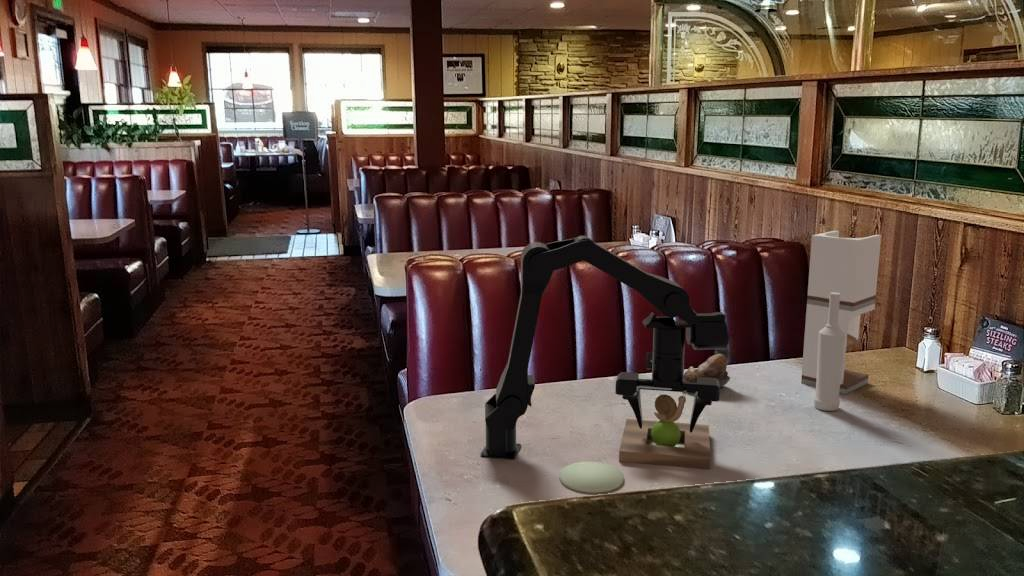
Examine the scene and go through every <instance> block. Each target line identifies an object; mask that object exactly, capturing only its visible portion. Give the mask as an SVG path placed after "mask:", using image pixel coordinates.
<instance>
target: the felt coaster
mask: <svg viewBox="0 0 1024 576" xmlns="http://www.w3.org/2000/svg"><path fill="white" fill-rule="evenodd" d="M624 480H625V479H624V474H623V472H622V471H621V469H619V468H618V467H616V466H613V465H611V464H608V463H604V462H599V461H580V462H579V461H578V462H575V463H571V464H568V465H566V466H564V467H562V469H561V470H560V471H559V481H560V483H561V484H562V485H563V486H564V487H566V488H568V489H570V490H573V491H576V492H580V493H586V494H587V493H588V494H601V493H602V494H604V493H607V492H612V491H614V490H617V489H618V488H621V486H622V485H623V484H624Z"/></svg>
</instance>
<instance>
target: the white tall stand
mask: <svg viewBox="0 0 1024 576" xmlns="http://www.w3.org/2000/svg"><path fill="white" fill-rule="evenodd" d="M839 236H840V230H831V231H827V232H822V233H817V234H812V235H811V242H810V253H809V256H810V258H809V270H808V271H809V272H808V283H807V284H808V285H807V297H806V298H807V299H806V310H805V311H806V312H805V327H804V339H803V350H802V351H803V353H802V354H803V355H802V365H801V366H802V367H801V378H800V381H801V382H800V383H801V384H802V385H803V384H804V385H807V386H810V385H812V386H811V387H814V386H815V387H814V388H816V379H817V360H818V341H819V331H820V330H822V329H823V328H824V327H826V324H827V323H828V314H829V298H830V293H831V292H836V293H840V303H839V315H838V325H839V328H840V329H841V330H842V331H843V332H844V333H845V342H844V352H843V361H842V371H841V380H840V390H839V394H843V395H847V394H849V393H851V392H854V391H855V390H858V388H861V387H863V386H865V385H867V384H868V383H869V374H866V373H863V372H858V371H854V370H849V369H846V368H845V365H846V355H847V354H846V353H847V346H851V345H854V344H856V343H858V342H859V338H860V337H859V336H860V324H861V315H863V314H865V313H869V312H871V311H875V309H876V306H875V305H876V297H877V287H878V286H877V285H878V275H879V263H880V256H881V255H880V254H881V251H880V250H881V241H882V234H874V235H870V236H866V237H839Z"/></svg>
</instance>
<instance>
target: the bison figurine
mask: <svg viewBox="0 0 1024 576" xmlns="http://www.w3.org/2000/svg"><path fill="white" fill-rule="evenodd" d="M713 354H714V355H712V356H709V357H708V358H707V359H706V361H704V362H702V363H701V364H700V365H698V367H697V368H695V367H694V366H690V367H688V369H687V370H686V371H684V379H683V382H696V383H697V380H698V377H708V378H717V380H718V381H719V386H720V388H721V387H723V386H725V385H727V384H728V382H729V381H730V380H731V377H730V376H729V371H727V367H728V364H727V363H728V360H729V358H730V349H729V345H728V346H727V348H726V349H716V350H715V351H714V352H713Z"/></svg>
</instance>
